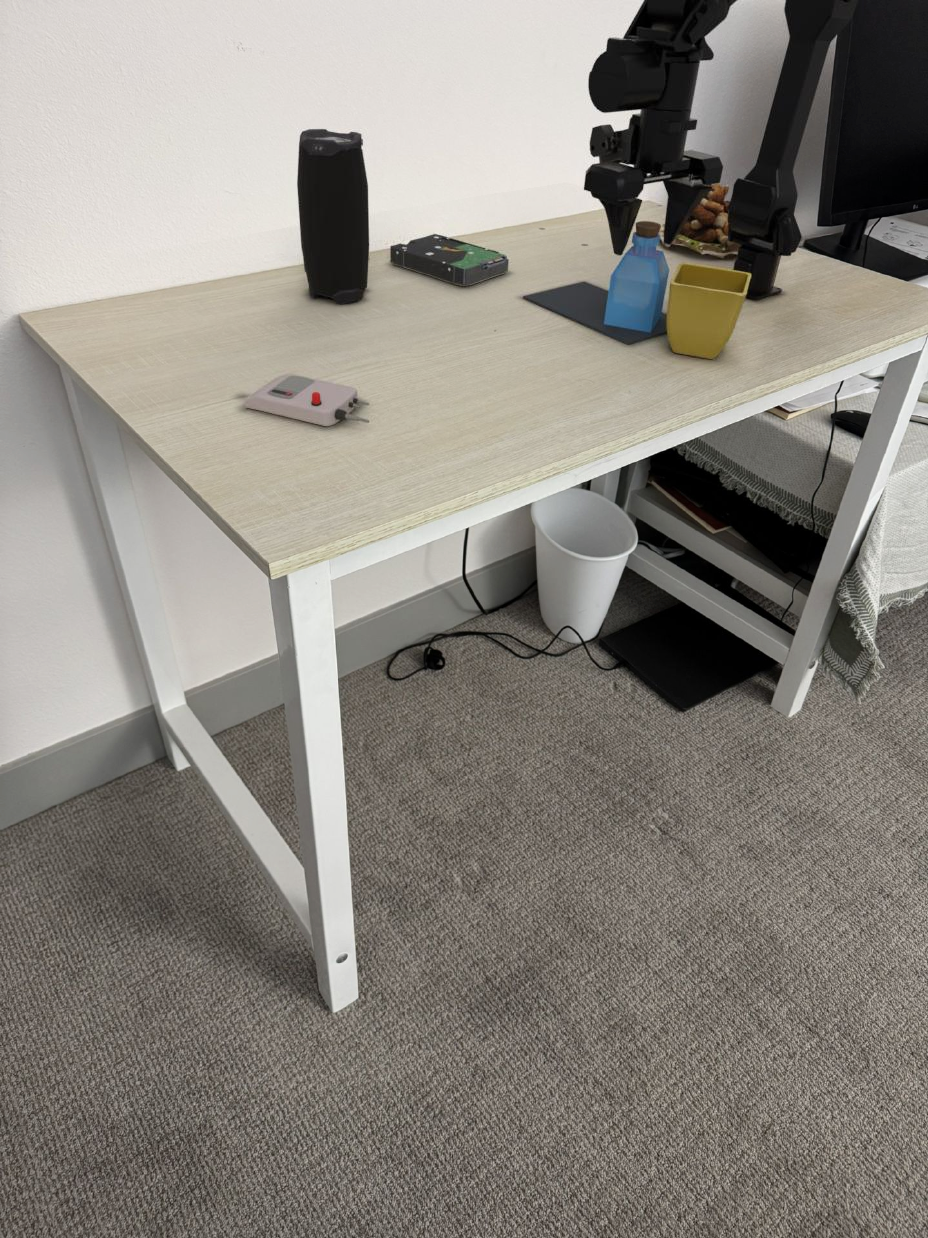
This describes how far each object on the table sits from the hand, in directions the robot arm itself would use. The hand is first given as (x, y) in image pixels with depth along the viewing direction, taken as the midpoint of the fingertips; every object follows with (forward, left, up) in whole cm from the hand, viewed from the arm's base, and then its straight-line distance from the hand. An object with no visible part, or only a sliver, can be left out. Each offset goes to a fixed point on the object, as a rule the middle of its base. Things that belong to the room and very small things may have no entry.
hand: (643, 248), depth 110 cm
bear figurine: (-36, -18, -10) cm, 41 cm away
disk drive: (+7, -31, -10) cm, 33 cm away
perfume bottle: (0, 0, -9) cm, 9 cm away
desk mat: (0, -5, -10) cm, 11 cm away
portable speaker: (+27, -30, -10) cm, 41 cm away
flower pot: (0, +11, -10) cm, 15 cm away
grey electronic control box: (+48, -2, -10) cm, 49 cm away
